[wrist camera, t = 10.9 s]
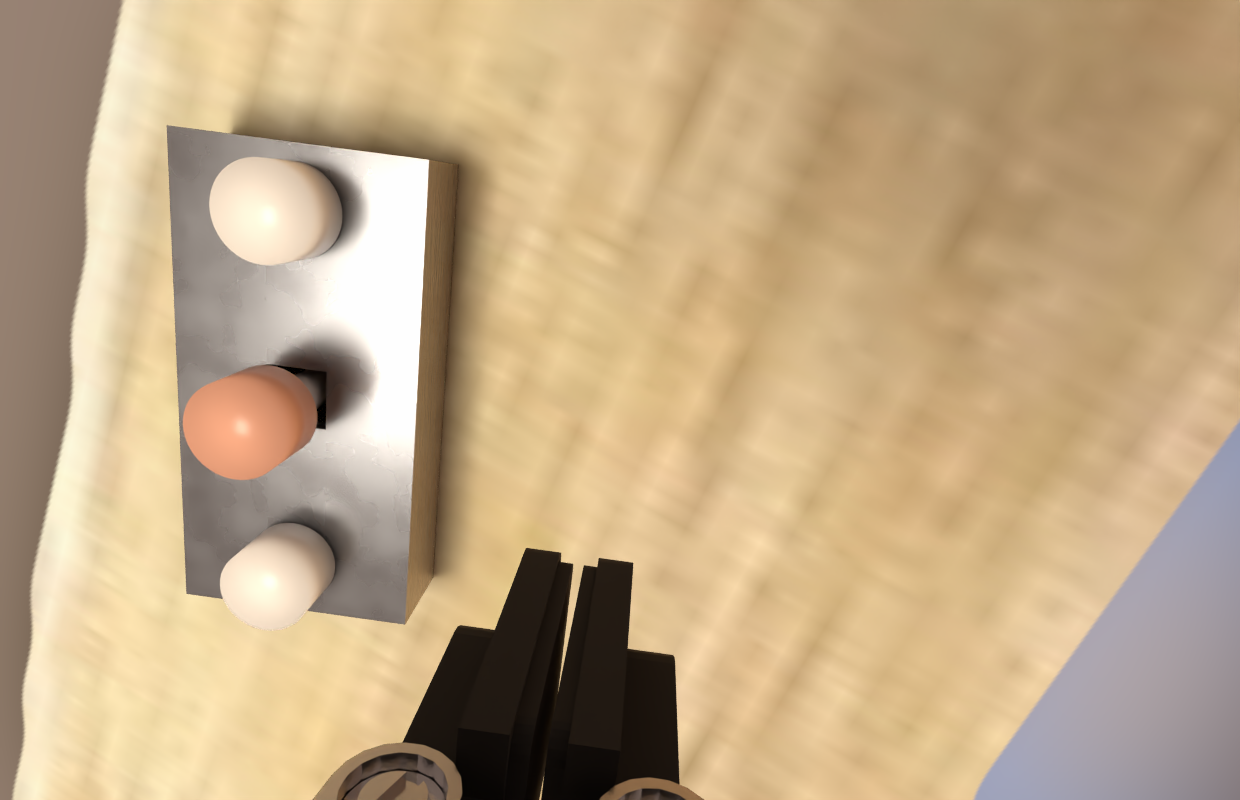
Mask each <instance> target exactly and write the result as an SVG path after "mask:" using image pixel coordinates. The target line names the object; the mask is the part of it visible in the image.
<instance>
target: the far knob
mask: <svg viewBox="0 0 1240 800" xmlns="http://www.w3.org/2000/svg"><path fill="white" fill-rule="evenodd" d="M334 573H335V560H334V556H333V553H332V550H331V548H330V547H329V545H328V544H327V542H326V541H325V540H324V538H322V537H321V536H320V535H319V534H318V533H317V532H315V531H314V530H312V529H310V528H308V527H306V526H303V525H300V524H295V523H281V524H277V525H273V526H271V527H269V528H268V529H266V530H265V531H263V532H262V533H261V534H260V535H259V536H258V537H256V538H255V539H254V540H253V541H252V542H250V543H249V544H248V545H247V546H246V547H245V548H243V549H242V550H241V551H240V552H239V553H237V554H236V555H235V556H234V557H233V558H232V559H230V560H229V561H228V563H227V564H226V565H225V567H224V569H223V571H222V573H221V577H220V590H221V594H222V597H223V600H224V602H225V604H226V606H227V607H228V608H229V610H230V611H231V612H232V613H233V614H234V615H235V616H236V617H237V618H238V619H240V620H241V621H242V622H244V623H246V624H247V625H250V626H252V627H254V628H258V629H262V630H270V631H272V630H281V629H285V628H288V627H290V626H292V625H293V624H295V623H296V622H297V621H299V620H300V619H301V617H302V616H303V615H304V614H305V613H306V611H307V610H308V609H309V608H310V607H311V606H312V604H313V603H314V602H315V601H316V600H317V599H318V597H319V596H320V595H321V594H322V593H323V592H324V590H325V589H326V588H327V587H328V586H329V584H330V583H331V581H332V579H333V577H334Z"/></svg>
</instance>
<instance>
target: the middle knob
mask: <svg viewBox="0 0 1240 800" xmlns="http://www.w3.org/2000/svg"><path fill="white" fill-rule="evenodd" d="M326 388H327V372H324V371H317V370H309V369H306V370H304V371H302V372H300V373H298V374H296V375H294V374H292V373H290V372H289V371H287V370H285V369H282V368H279V367H276V366H271V365H256V366H252V367H249V368H246V369H244V370H241V371H239V372H236V373H234V374H232V375H229V376H227V377H224V378H222V379H219V380H217V381H215V382H212V383H210V384H207V385H205V386H204V387H202V388H200V389H199V390H198V391H196V392H195V393H194V394H193V395H192V397H191V398H190V399H189V401H188V403H187V405H186V407H185V411H184V415H183V430H184V435H185V438H186V441H187V444H188V446H189V447H190V449H191V451H192V452H193V454H194V455H195V457H196V458H197V459H198V460H199V461H200V462H201V463H202V464H203V465H204V466H205V467H207V468H208V469H209V470H211V471H213V472H214V473H216V474H218V475H221V476H223V477H226V478H230V479H235V480H249V479H254V478H258V477H260V476H262V475H264V474H266V473H268V472H269V471H271V470H272V469H273V468H275V467H276V466H278V465H279V464H280V463H282V462H283V461H285V460H286V459H288V458H289V457H290V456H292V455H293V454H295V453H296V452H298V451H299V450H300V449H302V448H303V447H304V446H305V445H306V444H308V442H309V441H310V440H311V438H312V436H313V435H314V432H315V430H316V425H317V408H319V407H320V406H322V405H324V404H325V403H326Z"/></svg>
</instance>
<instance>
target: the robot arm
mask: <svg viewBox="0 0 1240 800" xmlns="http://www.w3.org/2000/svg"><path fill="white" fill-rule="evenodd" d="M572 572H573V564H570V563H563V562H561V553H559V552H552V551H545V550H537V549H530V548H526V550H525V552H524V554H523V557H522V560H521V562H520V565H519V568H518V570H517V573H516V576H515V578H514V581H513V583H512V586H511V589H510V591H509V594H508V597H507V599H506V602H505V605H504V607H503V610H502V613H501V615H500V618H499V621H498V623H497V626H496V628H495V630H490V629H483V628H476V627H469V626H462V625H460V626H458V627H457V629H456V630H455V632H454V634H453V636H452V638H451V640H450V643H449V645H448V647H447V649H446V651H445V653H444V655H443V657H442V660H441V662H440V664H439V666H438V668H437V670H436V672H435V675H434V677H433V679H432V681H431V683H430V685H429V687H428V689H427V692H426V694H425V696H424V698H423V700H422V702H421V704H420V706H419V709H418V711H417V713H416V715H415V717H414V719H413V721H412V724H411V726H410V728H409V730H408V732H407V734H406V736H405V738H404V741H403V743H394V744H384V745H381V746H378V747H374V748H371V749H368V750H365V751H363V752H361V753H359V754H358V755H356V756H354V757H353V758H351V759H349V760H347V761H346V762H345V763H344V764H343V765H342V766H341V767H340V768H339V769H338V770H337V771H336V772H334V773H333V774H332V775H331V777H330V778H329V779H328V781H327V782H326V783H325V784H324V786H323V787H322V788H321V790H320V791H319V792H318V793H317V795H316V796H315V797H314V799H313V800H539V797H540V792H541V787H542V782H543V777H544V782H543V790H542V798H541V800H704V799H702V798H701V797H700V796H698V795H697V794H695V793H694V792H693V791H691V790H690V789H688V788H687V787H684V786H682V785H679V759H678V731H677V704H676V676H675V658H674V656H673V655H668V654H661V653H654V652H646V651H639V650H632V649H627V648H628V633H629V619H630V604H631V589H632V575H633V563H631V562H624V561H616V560H609V559H602V558H599V561H598V567H592V566H585V565H584V568H583V572H582V577H581V582H580V587H579V592H578V597H577V602H576V607H575V612H574V617H573V622H572V627H571V632H570V637H569V642H568V647H567V652H566V656H565V661H564V666H563V671H562V676H561V681H560V686H559V679H560V671H561V663H562V655H563V646H564V638H565V630H566V622H567V613H568V605H569V597H570V589H571V580H572ZM558 688H559V691H558ZM544 772H545V773H544Z"/></svg>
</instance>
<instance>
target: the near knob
mask: <svg viewBox="0 0 1240 800" xmlns="http://www.w3.org/2000/svg"><path fill="white" fill-rule="evenodd" d="M209 208H210V215H211V220H212V223H213V225H214V228H215V230H216V232H217V234H218V235H219V237H220V239H221V240H222V241H223V243H224V244H225V245H226V246H227V247H228V248H229V249H230V250H231V251H232V252H233V253H235V254H236V255H237V256H239V257H241V258H242V259H244V260H246V261H249V262H252V263H255V264H260V265H276V264H282V263H288V262H294V261H299V260H305V259H310V258H314V257H317V256H319V255H321V254H323V253H324V252H326V251H327V250H328V249H329V248H330V247H331V246H332V245H333V244H334V242H335V241H336V239H337V237H338V235H339V233H340V230H341V226H342V206H341V202H340V199H339V196H338V194H337V191H336V190H335V188H334V186H333V185H332V183H331V182H330V181H329V179H328V178H327V177H326V176H325V175H324V174H323V173H321V172H320V171H319V170H317V169H316V168H314V167H312V166H310V165H308V164H306V163H303V162H299V161H292V160H282V159H272V158H262V157H246V158H242V159H239V160H236V161H234V162H232V163H230V164H229V165H227V166H226V167H225V168H224V169H223V170H222V171H221V172H220V173H219V174H218V176H217V178H216V179H215V181H214V183H213V186H212V189H211V193H210V199H209Z"/></svg>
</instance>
